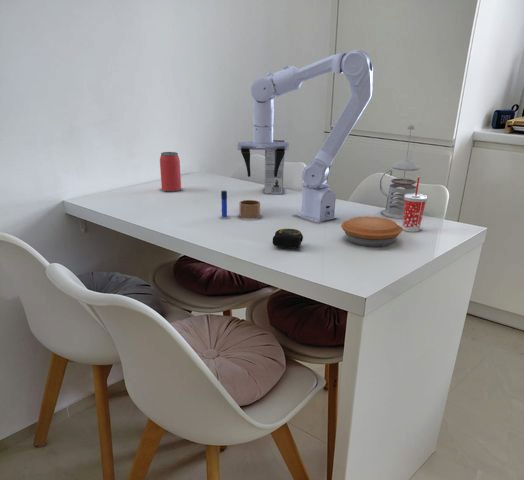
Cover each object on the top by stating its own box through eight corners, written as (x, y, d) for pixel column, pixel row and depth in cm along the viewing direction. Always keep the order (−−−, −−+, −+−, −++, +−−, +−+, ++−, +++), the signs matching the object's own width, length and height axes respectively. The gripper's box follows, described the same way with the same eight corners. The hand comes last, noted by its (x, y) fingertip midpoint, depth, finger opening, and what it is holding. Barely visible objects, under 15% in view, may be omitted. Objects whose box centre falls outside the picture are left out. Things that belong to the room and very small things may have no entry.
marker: (228, 217, 156) (228, 190, 152) (225, 219, 154) (224, 192, 151) (223, 216, 156) (223, 190, 153) (220, 218, 155) (220, 191, 151)
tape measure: (271, 249, 131) (271, 234, 130) (278, 241, 137) (278, 226, 135) (298, 252, 130) (299, 237, 128) (304, 243, 136) (305, 229, 134)
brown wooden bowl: (264, 217, 156) (264, 203, 154) (248, 221, 153) (248, 206, 151) (251, 213, 160) (251, 199, 158) (235, 216, 157) (235, 201, 155)
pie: (359, 252, 131) (362, 232, 128) (329, 234, 143) (330, 215, 141) (413, 246, 136) (416, 226, 133) (379, 229, 148) (381, 211, 146)
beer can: (185, 189, 186) (183, 153, 180) (172, 193, 181) (170, 155, 175) (170, 187, 189) (168, 150, 183) (157, 190, 184) (155, 153, 178)
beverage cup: (413, 225, 152) (421, 174, 146) (426, 231, 148) (435, 178, 141) (395, 227, 150) (402, 175, 144) (407, 233, 146) (415, 179, 139)
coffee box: (264, 187, 191) (265, 139, 183) (282, 188, 191) (284, 139, 183) (264, 193, 183) (265, 143, 175) (283, 194, 183) (285, 144, 175)
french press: (414, 219, 158) (428, 127, 146) (374, 215, 161) (384, 125, 149) (416, 211, 166) (430, 123, 154) (378, 207, 169) (389, 121, 157)
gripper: (237, 127, 146) (237, 178, 153) (290, 127, 148) (288, 179, 154) (236, 124, 153) (236, 173, 159) (287, 124, 154) (285, 174, 160)
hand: (262, 176), depth 157 cm, fingers open, 7 cm apart
